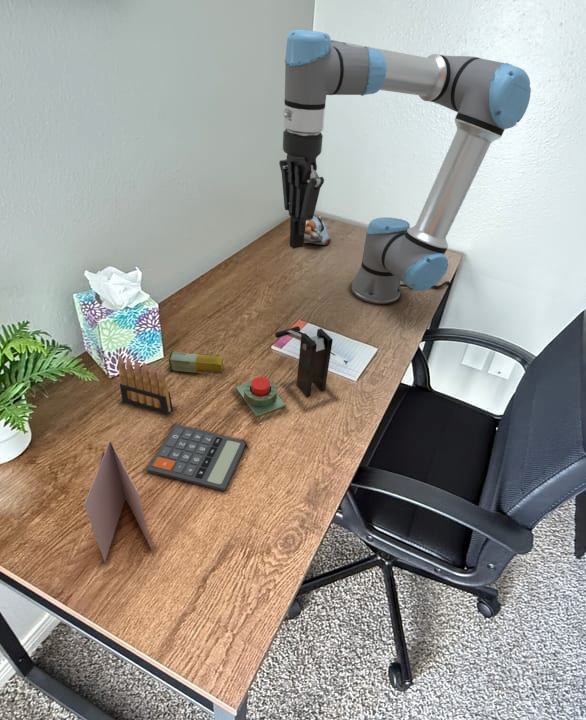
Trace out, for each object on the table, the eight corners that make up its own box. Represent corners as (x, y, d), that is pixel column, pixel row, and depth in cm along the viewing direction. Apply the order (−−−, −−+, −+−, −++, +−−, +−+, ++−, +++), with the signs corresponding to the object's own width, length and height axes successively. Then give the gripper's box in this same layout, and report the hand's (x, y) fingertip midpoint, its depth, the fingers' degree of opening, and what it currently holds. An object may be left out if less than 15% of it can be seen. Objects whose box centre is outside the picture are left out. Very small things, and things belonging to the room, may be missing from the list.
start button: (247, 387, 100) (247, 380, 98) (264, 381, 102) (264, 374, 100) (256, 398, 97) (256, 391, 96) (273, 392, 99) (273, 385, 98)
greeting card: (120, 497, 80) (104, 439, 71) (164, 498, 81) (154, 441, 71) (98, 561, 71) (77, 505, 62) (148, 562, 72) (134, 506, 62)
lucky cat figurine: (337, 244, 169) (335, 218, 156) (309, 260, 167) (305, 235, 154) (315, 218, 175) (311, 191, 162) (288, 233, 173) (282, 207, 160)
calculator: (175, 423, 93) (246, 440, 91) (175, 426, 94) (246, 443, 92) (146, 468, 84) (224, 488, 82) (146, 471, 84) (224, 491, 83)
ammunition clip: (173, 409, 97) (167, 365, 90) (168, 415, 96) (162, 371, 88) (127, 396, 99) (118, 352, 91) (122, 401, 97) (112, 357, 90)
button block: (235, 393, 103) (235, 379, 101) (263, 383, 106) (263, 370, 104) (256, 422, 97) (256, 408, 94) (285, 411, 100) (286, 397, 98)
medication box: (169, 371, 107) (167, 358, 104) (173, 363, 108) (170, 350, 106) (222, 376, 107) (220, 364, 104) (224, 368, 109) (223, 355, 106)
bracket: (285, 386, 107) (289, 330, 97) (314, 375, 110) (321, 320, 101) (305, 410, 101) (312, 354, 91) (335, 399, 105) (345, 343, 95)
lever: (275, 339, 106) (274, 329, 105) (298, 333, 109) (296, 323, 108) (308, 354, 95) (307, 343, 94) (332, 346, 98) (331, 335, 97)
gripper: (268, 123, 90) (267, 237, 105) (305, 141, 82) (298, 262, 97) (301, 121, 93) (295, 231, 108) (339, 138, 85) (327, 255, 100)
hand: (296, 246), depth 102 cm, fingers closed
